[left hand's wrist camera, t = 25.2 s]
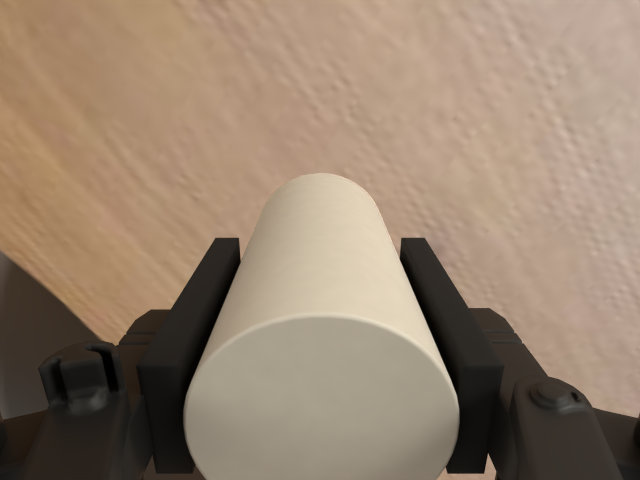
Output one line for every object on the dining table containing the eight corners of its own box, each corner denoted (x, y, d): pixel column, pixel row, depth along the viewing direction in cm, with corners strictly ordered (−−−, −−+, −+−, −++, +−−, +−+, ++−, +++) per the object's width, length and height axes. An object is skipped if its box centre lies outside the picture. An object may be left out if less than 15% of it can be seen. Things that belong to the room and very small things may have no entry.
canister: (390, 278, 19) (470, 510, 9) (274, 298, 19) (225, 543, 9) (372, 160, 17) (448, 288, 7) (243, 186, 17) (141, 342, 7)
